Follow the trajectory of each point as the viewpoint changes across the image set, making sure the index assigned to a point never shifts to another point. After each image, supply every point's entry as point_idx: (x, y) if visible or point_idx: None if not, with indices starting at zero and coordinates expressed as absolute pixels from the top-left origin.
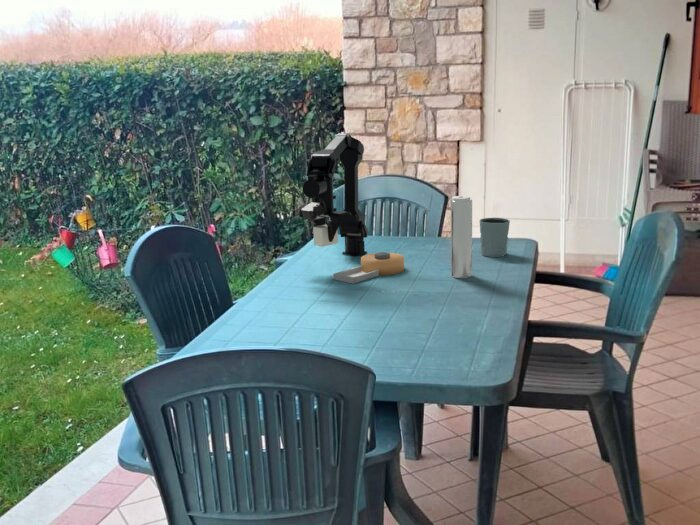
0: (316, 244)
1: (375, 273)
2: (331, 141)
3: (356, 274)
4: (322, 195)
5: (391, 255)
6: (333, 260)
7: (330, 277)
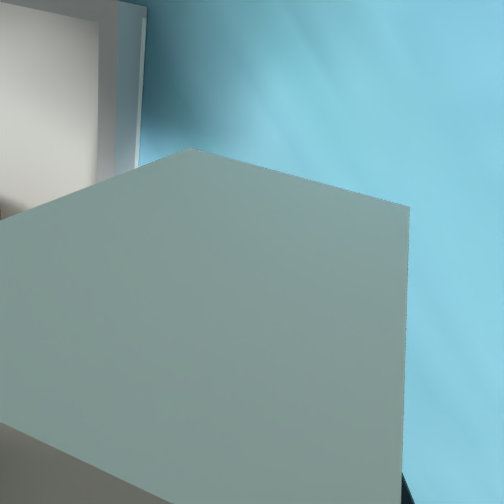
0: (336, 194)
1: None
2: None
3: (86, 185)
4: None
5: None
6: (451, 492)
7: (204, 49)
